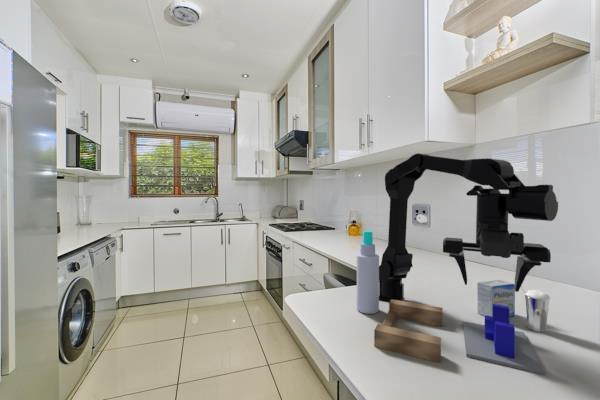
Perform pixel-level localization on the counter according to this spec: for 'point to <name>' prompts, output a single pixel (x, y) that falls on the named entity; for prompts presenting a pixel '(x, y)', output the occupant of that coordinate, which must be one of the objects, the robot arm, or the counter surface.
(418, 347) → the walnut holder
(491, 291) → the medicine box
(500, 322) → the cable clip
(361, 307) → the spray bottle
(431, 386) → the counter surface
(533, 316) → the milkshake
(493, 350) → the rubber mat
